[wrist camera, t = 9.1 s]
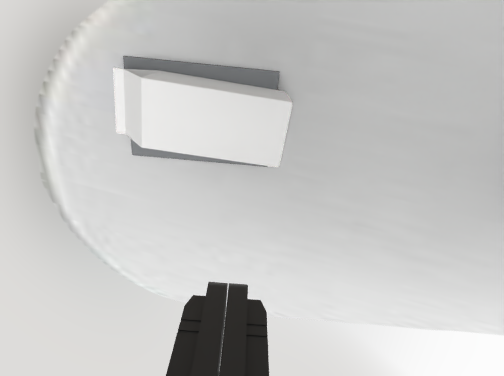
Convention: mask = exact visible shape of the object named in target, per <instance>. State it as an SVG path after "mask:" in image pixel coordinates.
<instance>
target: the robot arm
mask: <svg viewBox="0 0 504 376" xmlns="http://www.w3.org/2000/svg"><path fill="white" fill-rule="evenodd" d="M227 285H228V283H217V282H209V283H208V288H207V293H206V296H196V295H193V296H192V297H191V299H190V300H189V301H188V302H187V304H186V305H185V306H184V311H183V314H182V318H181V322H180V325H179V329H178V333H177V336H176V340H175V344H174V348H173V352H172V355H171V359H170V363H169V366H168V370H167V374H166V376H269V364H268V340H267V314H266V310H265V308H264V306H263V304H262V302H261V300H251V299H247V294H248V285H244V284H231V283H229V289H228V298H227ZM226 299H227V308H226ZM225 312H226V317H225ZM224 323H225V326H224ZM223 333H224V335H223ZM222 342H223V344H222ZM221 351H222V354H221ZM220 360H221V363H220ZM219 369H220V372H219Z"/></svg>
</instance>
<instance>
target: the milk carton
mask: <svg viewBox="0 0 504 376" xmlns="http://www.w3.org/2000/svg"><path fill="white" fill-rule="evenodd" d="M113 77H114V98H115V119H116V133H120V134H126V135H127V136H128V137H129V138H131V139H132V140H133V141H134V142H135V143H137V144H138V145H139V146H140V147H141V148H148V149H155V150H162V151H169V152H175V153H182V154H189V155H196V156H202V157H209V158H216V159H223V160H230V161H236V162H243V163H250V164H257V165H264V166H270V167H279V166H280V162H281V157H282V152H283V148H284V143H285V138H286V134H287V129H288V124H289V120H290V115H291V110H292V105H293V102H292V101H291V99H290V98H289V96H288V95H287V93H286V92H285V91H281V90H275V89H269V88H262V87H256V86H250V85H244V84H238V83H232V82H226V81H220V80H214V79H208V78H202V77H196V76H190V75H184V74H178V73H172V72H166V71H158V70H136V69H121V68H115V67H114V68H113Z"/></svg>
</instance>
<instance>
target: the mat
mask: <svg viewBox="0 0 504 376" xmlns="http://www.w3.org/2000/svg"><path fill="white" fill-rule="evenodd" d="M123 59H124V69H136V70H158V71H166V72H172V73H178V74H184V75H190V76H196V77H202V78H208V79H214V80H220V81H226V82H232V83H238V84H244V85H250V86H256V87H262V88H269V89H275V90H277V88H278V80H279V72H278V71H268V70H258V69H248V68H238V67H228V66H218V65H208V64H198V63H188V62H178V61H168V60H158V59H148V58H138V57H128V56H123ZM131 146H132V155H138V156H149V157H161V158H172V159H184V160H195V161H207V162H218V163H230V164H241V165H253V166H264V165H257V164H250V163H243V162H236V161H230V160H223V159H216V158H209V157H202V156H196V155H189V154H182V153H175V152H169V151H162V150H155V149H148V148H141V147H140V146H139V145H138V144H137V143H135V142H134V141H133V140H132V139H131ZM264 167H268V166H264Z"/></svg>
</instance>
